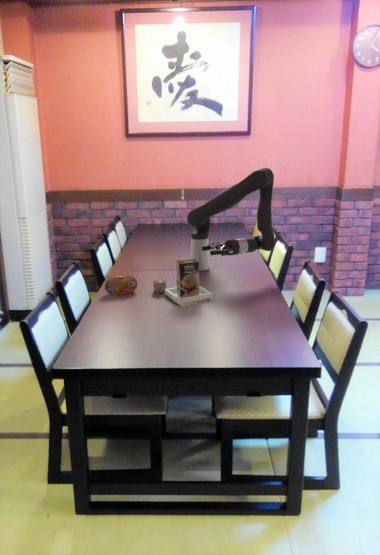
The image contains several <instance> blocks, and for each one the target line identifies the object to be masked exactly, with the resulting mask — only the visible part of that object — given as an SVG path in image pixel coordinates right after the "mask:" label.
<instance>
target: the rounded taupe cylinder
mask: <svg viewBox="0 0 380 555" xmlns="http://www.w3.org/2000/svg"><path fill="white" fill-rule="evenodd" d="M165 289H167V280H165V279H161V278H158V279H155V280H153V293H154V294H156V293H163V294H165Z"/></svg>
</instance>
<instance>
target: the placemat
mask: <svg viewBox="0 0 380 555" xmlns="http://www.w3.org/2000/svg"><path fill="white" fill-rule="evenodd" d="M210 300H212V301H213V298H212V299H208V300H203V301H198V302H193V303H188V304H183V305H179V306H180V307H181V306H182V307H186V305H187V306H192V305H196V304H195V303H197V304H201V302H202V303H205V301H207V302H211V301H210ZM191 304H192V305H191Z"/></svg>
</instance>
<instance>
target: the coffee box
mask: <svg viewBox="0 0 380 555" xmlns="http://www.w3.org/2000/svg"><path fill="white" fill-rule="evenodd" d="M175 264H176V266H175V267H176V268H175V269H176V287H177V295H178V296H179V297H180V298H186V297H191V296H196V295H199V286H200V271H199V262H198V261H197V260H195V259H192V258H190V259H182V260H181V259H180V260H175Z"/></svg>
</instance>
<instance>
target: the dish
mask: <svg viewBox="0 0 380 555" xmlns="http://www.w3.org/2000/svg"><path fill="white" fill-rule="evenodd" d="M164 295H165V296H166V297H167V298H169V299H171V301H173V302H175V303H176V304H177V305H179V306H180V305H183V304H188V303H193V302H198V301H203V300H208V299H212V300H213V292H211V291H209V290H207V289H205V288H204V287H202V286H200V285H199V295H196V296H191V297H186V298H180V297H179V296H178V295H177V286H175V287H170V288H166V289H165V293H164Z"/></svg>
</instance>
